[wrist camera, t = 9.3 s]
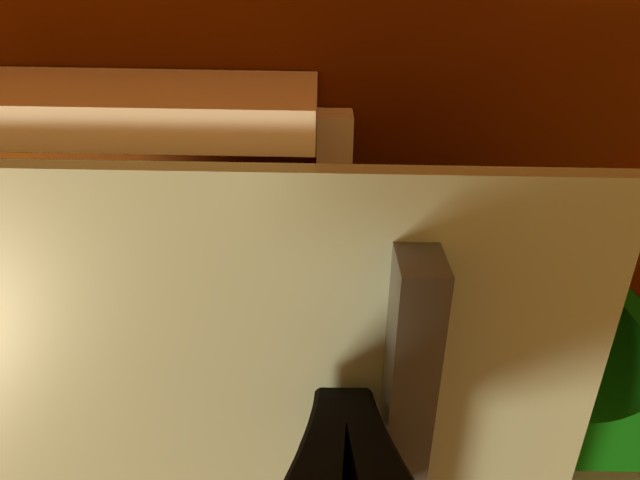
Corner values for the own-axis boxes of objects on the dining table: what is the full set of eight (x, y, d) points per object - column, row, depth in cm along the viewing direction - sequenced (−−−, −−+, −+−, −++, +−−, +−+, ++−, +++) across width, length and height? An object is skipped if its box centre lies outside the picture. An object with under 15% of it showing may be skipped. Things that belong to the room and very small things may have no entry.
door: (539, 545, 17) (565, 617, 15) (26, 538, 17) (-10, 609, 15) (646, 168, 12) (706, 208, 10) (-97, 156, 12) (-176, 194, 10)
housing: (726, 449, 22) (815, 559, 18) (-88, 436, 22) (-180, 544, 18) (892, 80, 16) (1086, 123, 12) (-242, 62, 16) (-435, 99, 12)
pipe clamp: (714, 283, 19) (823, 373, 15) (681, 371, 21) (771, 474, 17) (380, 280, 19) (397, 370, 15) (373, 369, 21) (387, 472, 17)
